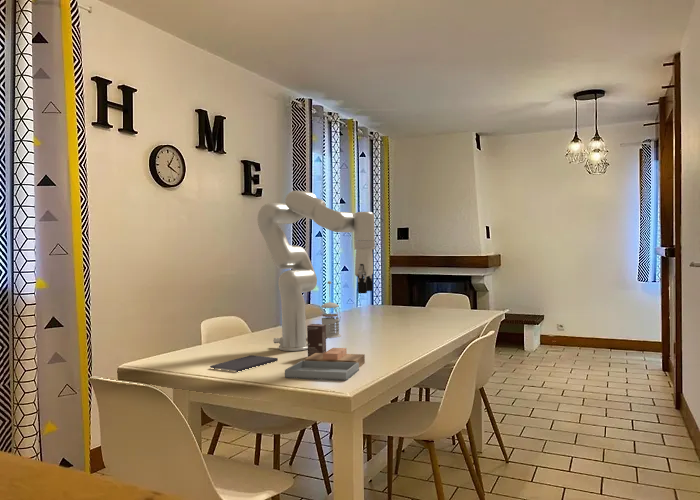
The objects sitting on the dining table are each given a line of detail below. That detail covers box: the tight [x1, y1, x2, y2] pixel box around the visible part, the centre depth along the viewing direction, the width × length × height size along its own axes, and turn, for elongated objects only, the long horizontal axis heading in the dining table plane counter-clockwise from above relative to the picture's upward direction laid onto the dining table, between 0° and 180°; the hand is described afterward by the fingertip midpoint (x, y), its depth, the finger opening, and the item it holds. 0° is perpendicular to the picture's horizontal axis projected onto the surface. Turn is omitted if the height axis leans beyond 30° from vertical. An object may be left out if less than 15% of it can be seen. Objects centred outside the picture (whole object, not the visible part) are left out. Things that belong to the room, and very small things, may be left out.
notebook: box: [209, 354, 278, 373], centre depth 198 cm, size 13×2×21 cm
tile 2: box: [327, 347, 348, 357], centre depth 196 cm, size 5×5×2 cm
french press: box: [320, 280, 342, 339], centre depth 257 cm, size 10×12×25 cm
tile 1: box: [323, 350, 342, 360], centre depth 191 cm, size 5×5×2 cm
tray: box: [284, 360, 360, 382], centre depth 181 cm, size 20×14×2 cm
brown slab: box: [304, 353, 366, 368], centre depth 193 cm, size 18×11×3 cm, turn 74°
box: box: [306, 323, 327, 357], centre depth 208 cm, size 6×4×12 cm
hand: (365, 292), depth 208 cm, fingers open, 9 cm apart
